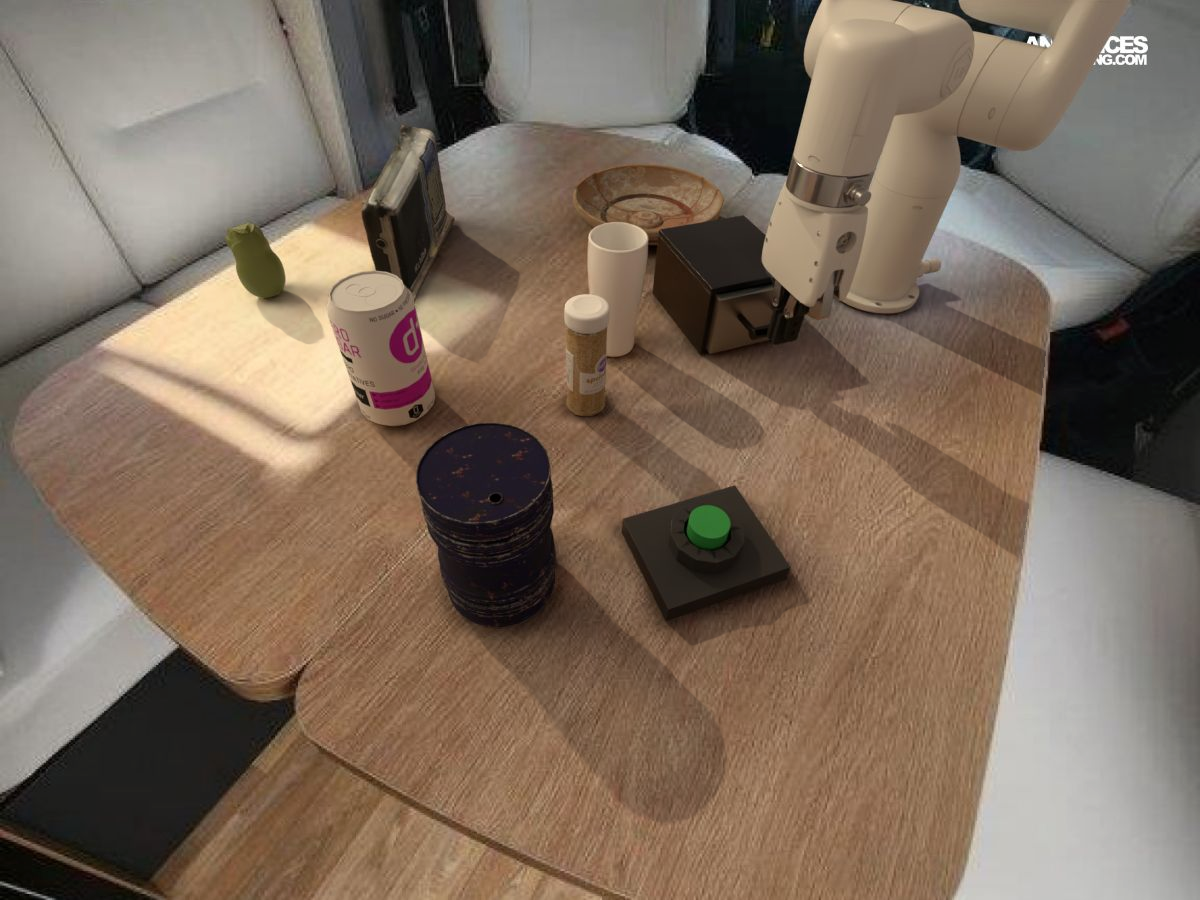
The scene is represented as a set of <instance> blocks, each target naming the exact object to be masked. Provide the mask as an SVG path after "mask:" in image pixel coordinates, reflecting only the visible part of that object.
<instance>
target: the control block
mask: <svg viewBox="0 0 1200 900" xmlns="http://www.w3.org/2000/svg"><path fill="white" fill-rule="evenodd" d="M704 505H710V506H715V507H718V508H720V509H721V510H723V511H724V512H725V513H726V514H727V515H728V517H729V519H730V524H731V525H730V530H729V533H728V536H727V540H726V542H725V543H724V544H723V545H722V546H721V547H719V548H717V549H713V550H706V549H702V548H699V547H697V546H695V545H694V544H693V543H692V542H691V541H690V539H689V538H688V535H687V526H688V521H689V517H690V514H691V512H692V511H693V510H694V509H696V508H697V507H700V506H704ZM621 535H622V536H623V538H624V541H625V542H626V545H627V546H628V549H629V551H630V552H631V555H632V557H633V559H634V561H635V563H636V565H637V567H638V569H639V572H640V573H641V575H642V577H643V579H644V581H645V583H646V585H647V587H648V589H649V591H650V594H651V595H652V597H653V599H654V601H655V603H656V605H657V608H658V610H659V612H660V613H661V616H662V618H663V619H664V621H665V622H666V623H668V622H670V621H673V620H676V619H679V618H682V617H684V616H687V615H691V614H692V613H695V612H698V611H701V610H704V609H707V608H710V607H712V606H716V605H718V604H721V603H724V602H727V601H729V600H732V599H735V598H738V597H741V596H744V595H746V594H750V593H752V592H756V591H758V590H760V589H764V588H766V587H769V586H772V585H775V584H778V583H781V582H783V581H785V580H786V579H787V577H788V574H789V572H790V570H791V568H792V567H791V565H790V564H789V562H788V561H787V559H786V558H785V556H784V555H783V553H782V552H781V550H780V549H779V547H778V546H777V545H776V543H775V541H774V540H773V538H772V536H770V534H769V533H768V531H767V529H766V528H765V527H764V526H763V524H762V523H761V521H760V520H759V518H758V517H757V515H756V514H755V512H754V510H753V509H752V508H751V507H750V505H749V503H748V502H747V501H746V499H745V497H744V496H743V495H742V493H741V492H740V490H739V489H738V487H737V486H736V485H735V484H734V485H731V486H727V487H724V488H721V489H717V490H714V491H710V492H707V493H704V494H701V495H698V496H697V495H696V496H693V497H691V498H687V499H684V500H680V501H676V502H674V503H670V504H667V505H664V506H661V507H658V508H653V509H651V510H647V511H644V512H641V513H637V514H634V515H630V516H627V517H624V518H622V521H621Z"/></svg>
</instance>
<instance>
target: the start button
mask: <svg viewBox="0 0 1200 900" xmlns="http://www.w3.org/2000/svg"><path fill="white" fill-rule="evenodd" d="M730 525H731V524H730V519H729V517H728V515H727V514H726V513H725V512H724V511H723V510H721V509H720V508H718V507H715V506H710V505H704V506H700V507H697V508H696V509H694V510H693V511H692V512H691V514H690V517H689V521H688V526H687V535H688V538H689V539H690V541H691V542H692V543H693V544H694V545H695V546H697V547H699V548H702V549H706V550H713V549H717V548H719V547H721V546H722V545H723V544H724V543H725V542H726V540H727V536H728V533H729V530H730Z"/></svg>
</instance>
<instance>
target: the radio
mask: <svg viewBox="0 0 1200 900" xmlns="http://www.w3.org/2000/svg"><path fill="white" fill-rule="evenodd" d="M440 166H441V165H440V161H439V154H438V150H437V142H436V136H435V133H434V132H433V131H432V130H430V129H427V128H422V127H421V128H419V127H416V126H413V127H412V126H410V125H400V126H399V134H398V136H397V139H396V144H395V146H394V148H393V151H392V153H391V155H390V156H389V159H388V160H387V162H386V164H384V166H383V169H382V171H381V173H380V175H379V177H378V178H377V180H376V182H375V183H374V185H373V187H372V189H371V191H370V192H369V194H368V195H367V197H365V198H364V200H363V201H362V204H361V208H360V210H361V212H360V213H361V219H362V223H363V227H364V230H365V234H366V239H367V243H368V247H369V252H370V255H371V259H372V262H373V265H374V271H382V272H388V273H391V274H394V275H396V276H397V277H398V278H400V279H401V280H402V282H403V284H404V285H405V286H406V287H407V288H408V289H409V290H410V291H411V293H412V296H413V299H414V300H415V299H416V297H417V296H418V294H419V292H420V290H421V287H422V285H423V284H424V281H425V279H426V278H427V276H428V274H429V272H430V270H431V268H432V265H433V264H434V262H435V260H436V258H437V256H438V255H439V252H440V250H441V248H442V246H443V244H444V243H445V240H446V238H447V236H448V234H449V233H450V231H451V228H452V227H453V225H454V222H455V220H456V219H455V216H453V215H452V214H450V213H448V211H447V207H446V197H445V192H444V191H445V190H444V187H443V186H444V185H443V181H442V175H441V167H440Z"/></svg>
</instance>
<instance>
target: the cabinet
mask: <svg viewBox="0 0 1200 900" xmlns="http://www.w3.org/2000/svg"><path fill="white" fill-rule="evenodd" d="M765 237H766V234H765V233H764V231H762V230H761V229H759V228H758V227H757V226H756V225H755V223H753V222H752V220H750V219H748V218H747V217H746V216H745V215H744V214H742V215H737V216H736V215H735V216H730V217H724V218H718V219H717V220H712V221H706V222H700V223H694V224H688V225H683V226H677V227H671V228H665V229H659V235H658V243H657V245H656V254H655V263H654V271H653V273H654V274H653V284H652V295H653V296H654V298H655V299H656V300H657V301H658V303H659V304H660V305H661V307H663V309H664V310H665V311H666V314H668V316H669V317H670V318H671V319H672V321H673V322H674V323H675V324H676V326H677V327H678V328H679V330H680V331H681V332H682V333H683V335H684V336H685V338H687V340H688V341H689V342H690V344H691V345H692V347H693V348H694V349H695V350H696V352H697V353H698V354H699V355H700V356H701V355H706V354H710V353H709V352H708V351H707V350H706V343H707V338H708V333H709V327H710V322H711V317H712V311H713V306H714V301H715V295H717V293H721V292H726V291H731V290H736V289H740V288H745V287H750V286H755V285H760V284H765V283H770V282H772V280H771V278H770V277H769V275H768V274H767V272H766V270H765V267H764V265H763V263H762V251H763V246H764V241H765Z"/></svg>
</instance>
